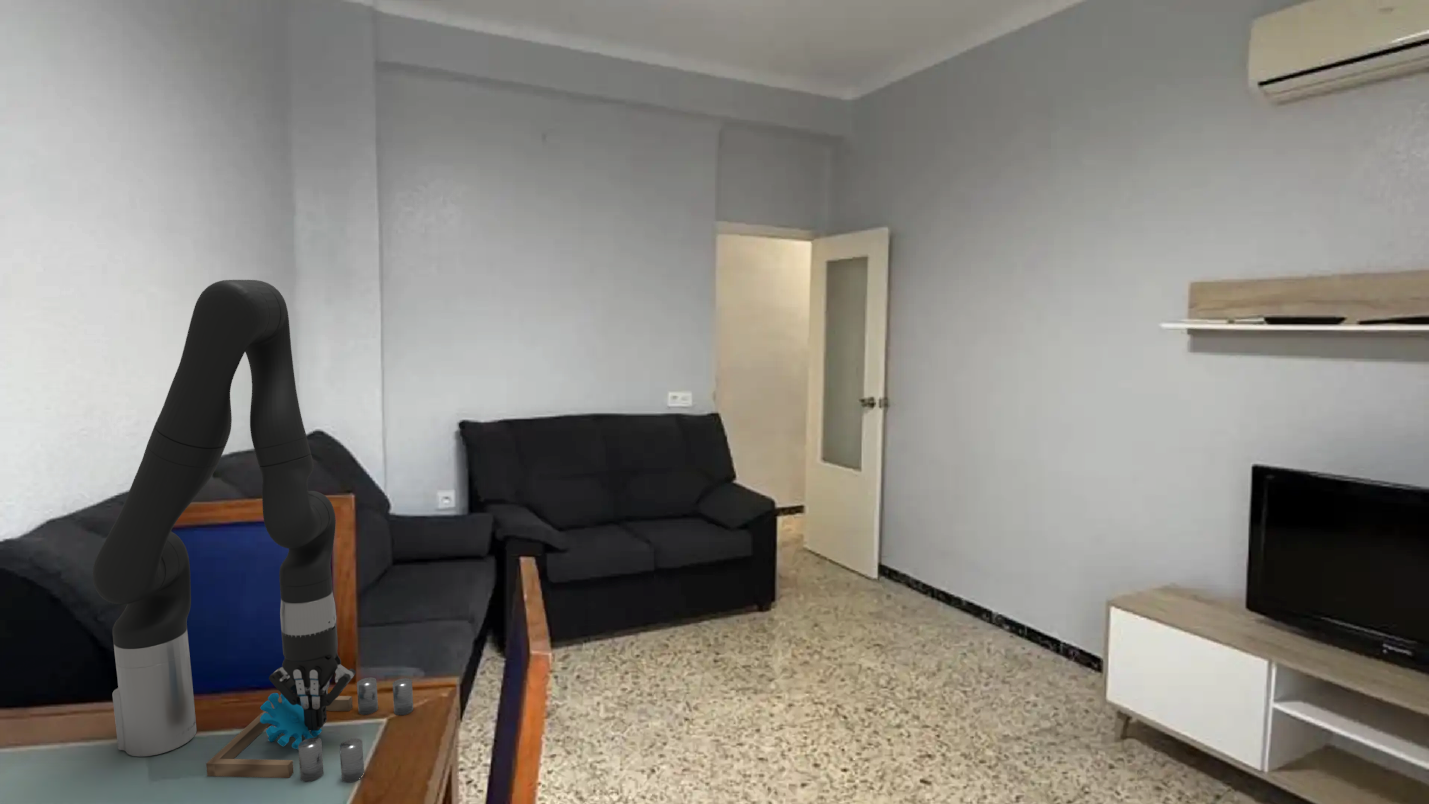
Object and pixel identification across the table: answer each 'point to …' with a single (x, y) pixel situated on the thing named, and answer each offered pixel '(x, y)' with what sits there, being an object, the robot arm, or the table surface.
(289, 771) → the frame
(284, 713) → the gear
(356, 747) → the spacers
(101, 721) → the table surface
